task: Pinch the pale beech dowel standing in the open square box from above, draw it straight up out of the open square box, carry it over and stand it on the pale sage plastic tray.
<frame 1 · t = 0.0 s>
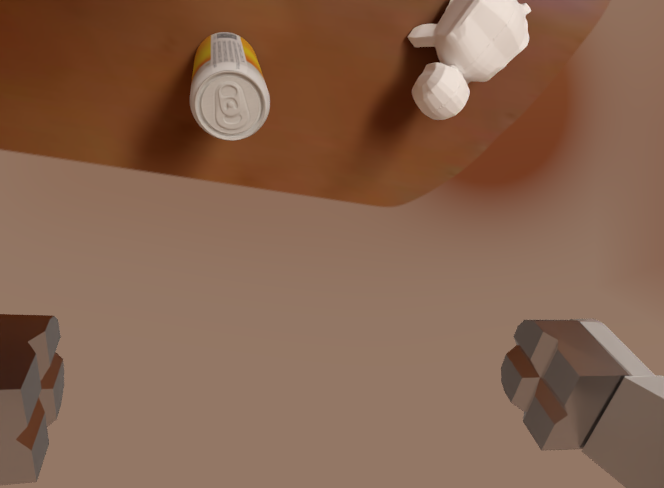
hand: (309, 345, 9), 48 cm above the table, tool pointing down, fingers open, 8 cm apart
beer can: (226, 63, 52), on the table
white low-poly figurine: (450, 41, 56), on the table
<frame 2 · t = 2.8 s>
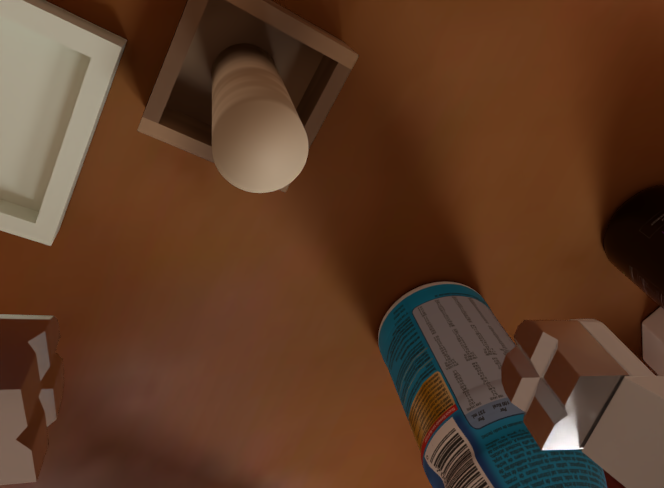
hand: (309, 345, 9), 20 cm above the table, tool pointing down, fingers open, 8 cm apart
open square box: (244, 74, 26), on the table
supplement bottle: (642, 224, 37), on the table
beverage bottle: (429, 322, 38), on the table
dowel: (245, 77, 26), point 1 cm above the table, touching open square box
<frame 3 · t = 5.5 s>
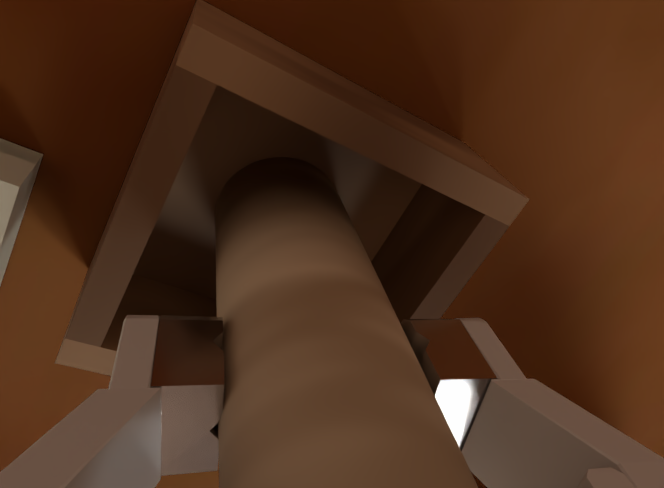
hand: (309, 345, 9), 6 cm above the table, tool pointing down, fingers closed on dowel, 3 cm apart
open square box: (276, 205, 14), on the table
dowel: (279, 216, 13), point 1 cm above the table, touching open square box, gripper
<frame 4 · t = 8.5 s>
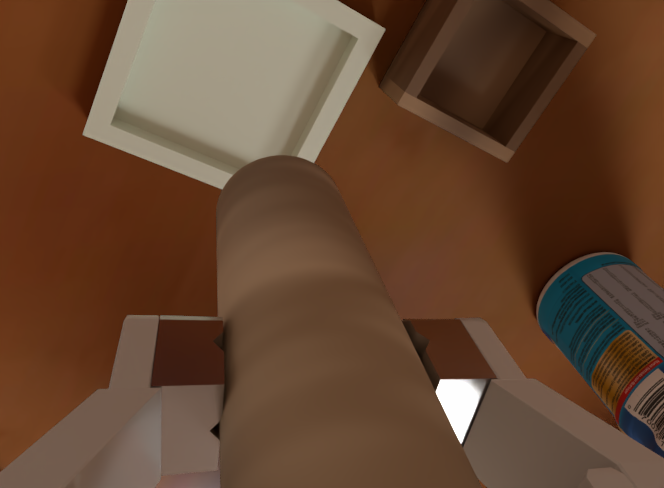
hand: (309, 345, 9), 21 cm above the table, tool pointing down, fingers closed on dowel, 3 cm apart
tray: (233, 73, 27), on the table
open square box: (468, 55, 29), on the table
beverage bottle: (581, 292, 40), on the table
dowel: (280, 214, 13), point 16 cm above the table, touching gripper
when the fingers open (6 cm above the table, at t = 12.0 s): dowel stays where it is, resting on tray.
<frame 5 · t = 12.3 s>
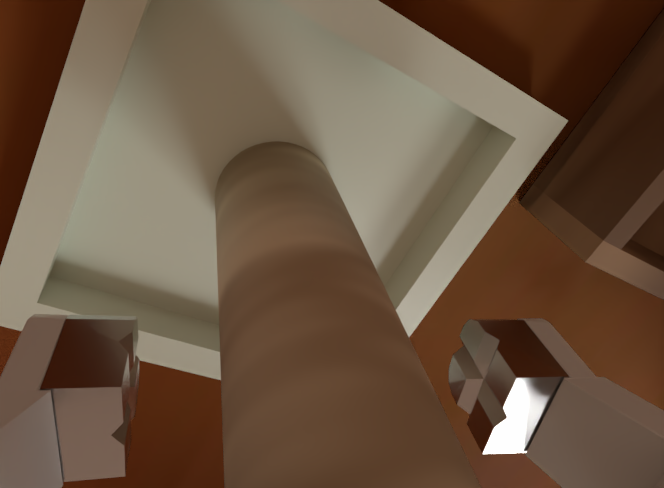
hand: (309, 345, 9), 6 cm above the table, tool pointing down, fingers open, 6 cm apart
tray: (272, 189, 15), on the table
dowel: (275, 197, 14), point 1 cm above the table, touching tray
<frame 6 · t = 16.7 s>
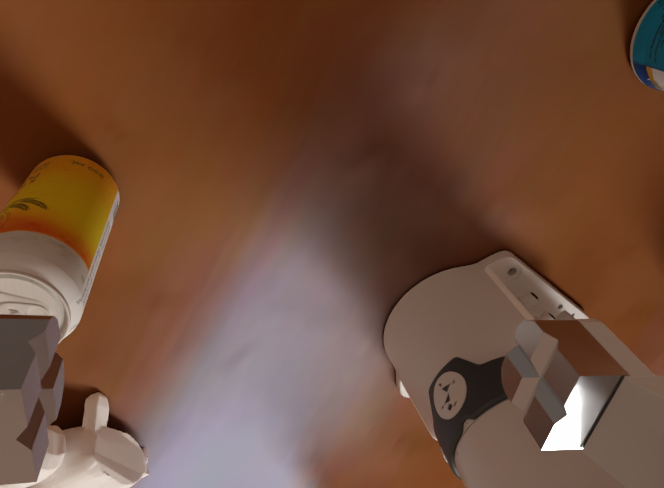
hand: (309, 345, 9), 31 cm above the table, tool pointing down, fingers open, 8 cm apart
beer can: (77, 188, 39), on the table
white low-poly figurine: (81, 424, 51), on the table
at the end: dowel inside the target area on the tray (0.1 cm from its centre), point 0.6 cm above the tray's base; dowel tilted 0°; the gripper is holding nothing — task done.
